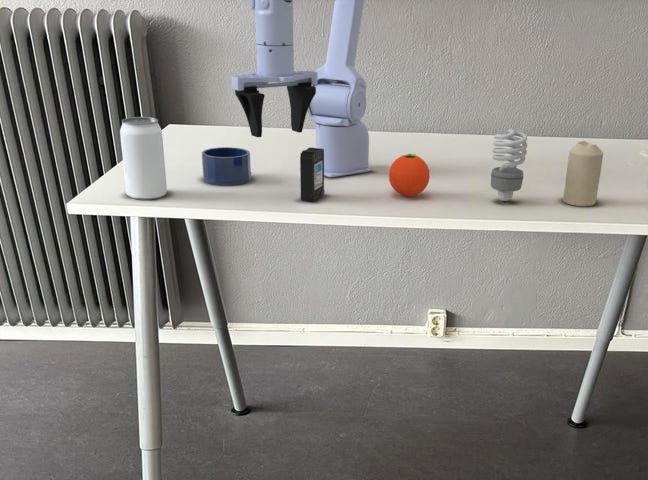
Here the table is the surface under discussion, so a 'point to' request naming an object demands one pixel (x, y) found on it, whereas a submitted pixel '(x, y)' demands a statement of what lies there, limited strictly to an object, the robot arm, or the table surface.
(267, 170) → the table surface
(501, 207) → the table surface
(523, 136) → the light bulb
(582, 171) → the candle
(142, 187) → the can
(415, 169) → the clementine
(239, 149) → the cup
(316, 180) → the ink cartridge
